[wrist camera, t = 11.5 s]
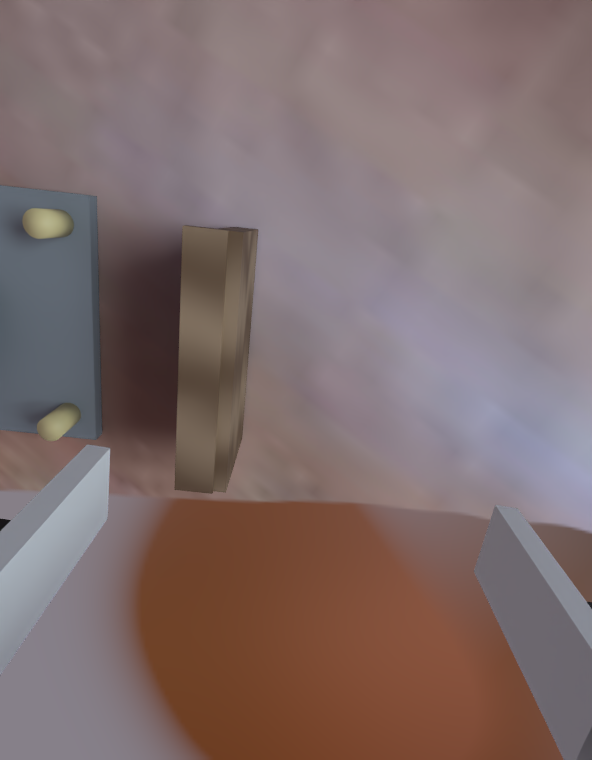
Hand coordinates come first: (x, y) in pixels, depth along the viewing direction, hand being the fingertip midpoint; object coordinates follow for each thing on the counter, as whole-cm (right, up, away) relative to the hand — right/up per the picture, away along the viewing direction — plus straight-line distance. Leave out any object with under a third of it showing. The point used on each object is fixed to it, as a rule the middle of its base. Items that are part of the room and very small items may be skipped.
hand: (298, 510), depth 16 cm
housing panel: (-4, +7, +20) cm, 22 cm away
